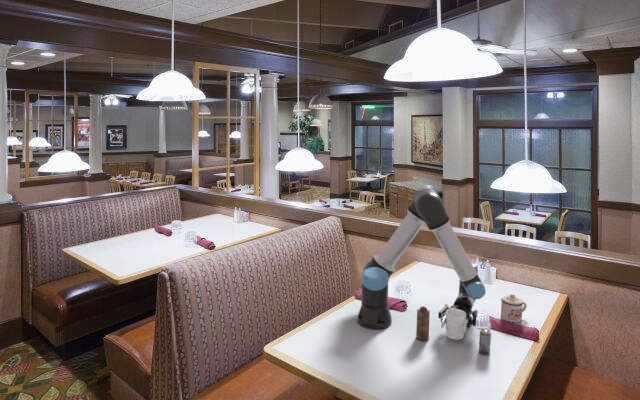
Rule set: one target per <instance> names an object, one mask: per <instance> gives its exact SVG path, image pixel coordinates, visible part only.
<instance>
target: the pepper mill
mask: <svg viewBox="0 0 640 400" xmlns="http://www.w3.org/2000/svg"><path fill="white" fill-rule="evenodd" d="M430 312H431V311H430V310H429V309H427V306H423V305H422V306H420V307H419V308H418V309H417V310H416V332H415V333H416V334H415V336H416V337H415V338H416V340H417V341H420V342H427V341H429V340H430V339H429V338H430V319H431V318H430V315H431V313H430Z"/></svg>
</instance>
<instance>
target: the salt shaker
mask: <svg viewBox="0 0 640 400" xmlns="http://www.w3.org/2000/svg"><path fill="white" fill-rule="evenodd" d="M491 339H492V333H491V330H490V329H488V328H481V329H480V331H479V341H478V342H479V343H478V353H479V354H480V355H483V356H489V355H490V354H491V353H490V352H491V341H492V340H491Z"/></svg>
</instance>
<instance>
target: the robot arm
mask: <svg viewBox="0 0 640 400" xmlns="http://www.w3.org/2000/svg"><path fill="white" fill-rule="evenodd" d="M440 196H441V195H440V194H439V193H438V192H437V191H436V190H434V189H432V188H421V189H419V190H418V191H416V192H415V193H414V195H413V198H412V201H411V202H410V203H409V205H408V206H407V208H406V212H407V213H406V216H405V217H404V218H403V220H402V221H401V222H400V224H399V225H398V227H397V229H396V230H395V231H394V232H393V234H392V236H391V237H390V239H388V241H387V242H386V243H385V245H384V247H383V248H382V250H381V251H380V253H379V254H375V255H373V257H372V258H371V260H369V261H368V262H367V263H366V264H365V266H364V267H363V271H362V273H361V277H360V278H361V279H360V280H361V281H360V282H361V305H360V308H359V311H358V314H357V324H359V325H360V326H361V327H363V328H365V329H370V330H381V329H382V330H383V329H387V328H388V327H390V326H391V325H392V319H393V317H392V314H391V311H390V308H389V305H388V304H389V303H388V302H389V282H390V281H389V279H390V278H391V276H392V275H393V273H394V272H395V271H396V270H395V265H396V264H397V262H398V260H400V258H401V256H402V255H403V254H404V252H406V249H407V248H408V247H409V246H410V244H411V243H412V241H413V240H414V238H415V237H416V236H417V234H418V233H419V231H420V230H421V229H422V227H423V226H424V225H426V228H427V229H428V230H429V231H432V232H433V235H434V236H435V237H436V239H437V241H438V243H439V245H440V246H441V249H442V251H443V252H444V254H445V255H446V257H447V259H448V260H449V263H450V264H451V266H452V267H453V270H454V271H455V273H456V275H457V277H458V279H459V286H458V295H457V297H456V298H455V301H454V303H453V304H452V305H451V306H449V305H448V304H444V307H442V309H440V311H438V319H440V322H441V324H440V326H441V328H442V329H443V328H444V327H445V326H446V310H448V309H460V310H463V311H464V312H466V321H465V323H464V326H463V333H464V334H465V333H466V331H467V329H470V328H471V326H473V327H476V326H477V317H478V310H477V309H476V310H473V307H474V304H475V301H476V300H480V299H481V298H484V296H485V295H486V292H487V291H486V290H487V289H486V287H485V285H484V282H482V279H481V278H480V276H479V271H478V269H479V268H478V265H477V264H476V263H472V262H471V260H470V258H469V256H468V255H467V253H466V251H465V249H464V247H463V245H462V243H461V242H460V240H459V238H458V236H457V234H456V232H455V231H454V229H453V227H452V225H451V223H450V221H451V218H450V217H449V215H448V212H447V211H446V207H445V205H444V201H443V199H442V197H440ZM470 315H471V316H472V317H471V316H470Z"/></svg>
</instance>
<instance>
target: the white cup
mask: <svg viewBox="0 0 640 400" xmlns="http://www.w3.org/2000/svg"><path fill="white" fill-rule="evenodd" d="M465 321H466V312H464V311H463V310H460V309H448V310H446V323H445V332H446V333H445V334H446V337H448V338H449V339H451V340H456V341H457V340H458V341H459V340H461V339H463V338H464V335H465V333H463V326H464V323H465Z"/></svg>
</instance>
